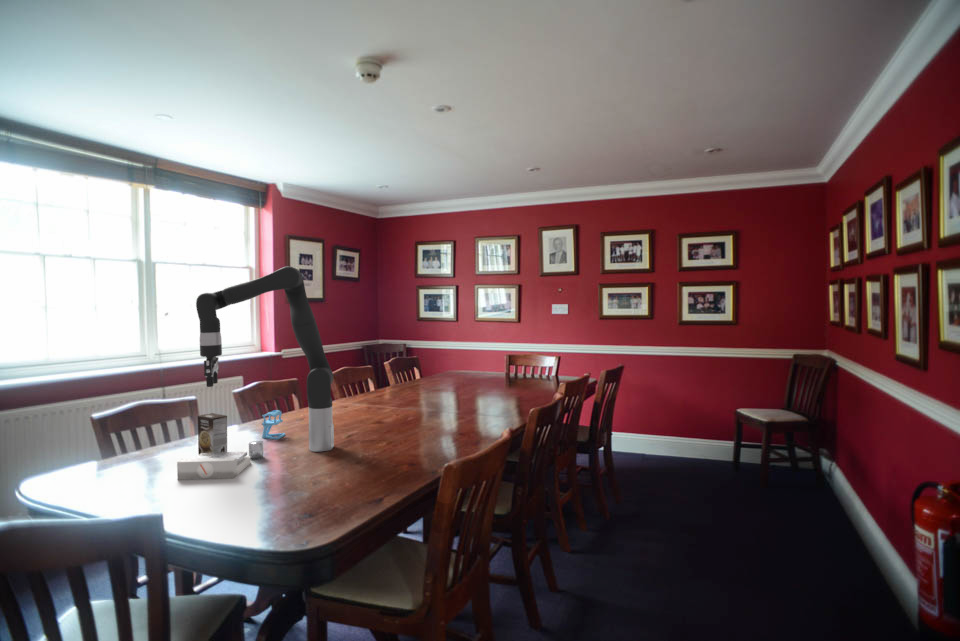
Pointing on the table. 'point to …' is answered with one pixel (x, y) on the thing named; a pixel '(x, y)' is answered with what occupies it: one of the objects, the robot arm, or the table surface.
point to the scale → (210, 468)
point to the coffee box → (212, 433)
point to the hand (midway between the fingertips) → (212, 385)
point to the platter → (222, 455)
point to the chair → (270, 423)
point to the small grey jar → (256, 450)
